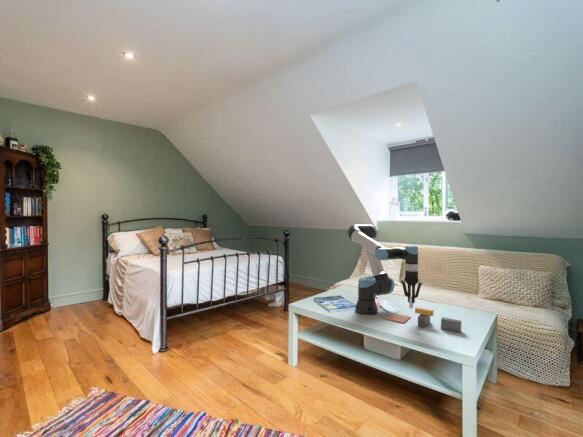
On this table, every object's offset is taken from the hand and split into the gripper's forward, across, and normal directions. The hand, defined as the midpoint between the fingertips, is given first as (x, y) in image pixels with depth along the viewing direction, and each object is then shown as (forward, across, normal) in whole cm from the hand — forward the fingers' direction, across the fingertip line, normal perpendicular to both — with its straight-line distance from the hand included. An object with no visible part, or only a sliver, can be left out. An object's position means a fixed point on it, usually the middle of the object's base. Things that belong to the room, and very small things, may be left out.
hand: (411, 307), depth 192 cm
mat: (+9, -8, 0) cm, 12 cm away
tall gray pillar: (+9, +8, 0) cm, 12 cm away
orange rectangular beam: (+2, +8, 0) cm, 8 cm away
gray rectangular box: (+9, +23, 0) cm, 24 cm away
